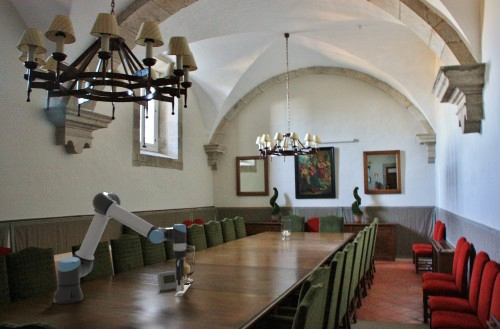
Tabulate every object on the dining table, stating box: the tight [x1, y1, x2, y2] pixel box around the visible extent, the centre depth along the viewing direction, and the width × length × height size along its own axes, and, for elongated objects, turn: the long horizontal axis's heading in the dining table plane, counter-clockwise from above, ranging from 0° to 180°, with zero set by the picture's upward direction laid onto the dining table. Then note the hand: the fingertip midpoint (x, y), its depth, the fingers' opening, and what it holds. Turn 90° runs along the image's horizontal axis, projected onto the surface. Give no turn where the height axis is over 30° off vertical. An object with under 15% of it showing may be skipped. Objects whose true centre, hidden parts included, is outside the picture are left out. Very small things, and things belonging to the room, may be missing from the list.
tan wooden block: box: [175, 274, 185, 292], centre depth 243 cm, size 4×4×9 cm
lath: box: [174, 284, 192, 297], centre depth 256 cm, size 4×36×1 cm, turn 179°
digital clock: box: [156, 270, 176, 291], centre depth 258 cm, size 16×9×11 cm, turn 117°
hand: (180, 289), depth 243 cm, fingers closed on tan wooden block, 4 cm apart
